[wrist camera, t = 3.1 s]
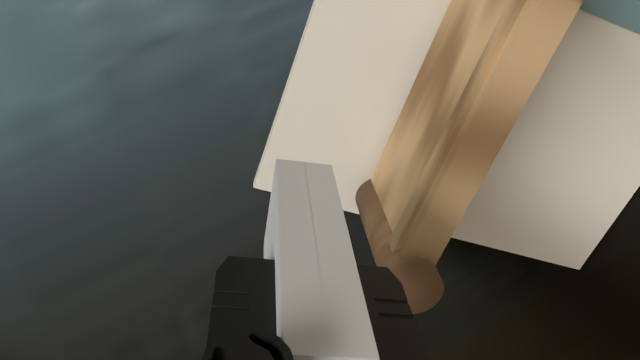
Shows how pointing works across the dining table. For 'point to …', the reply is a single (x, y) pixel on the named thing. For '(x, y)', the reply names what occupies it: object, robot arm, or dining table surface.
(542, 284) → the dining table surface
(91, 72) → the dining table surface
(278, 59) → the dining table surface
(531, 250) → the card
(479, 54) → the fence wing
